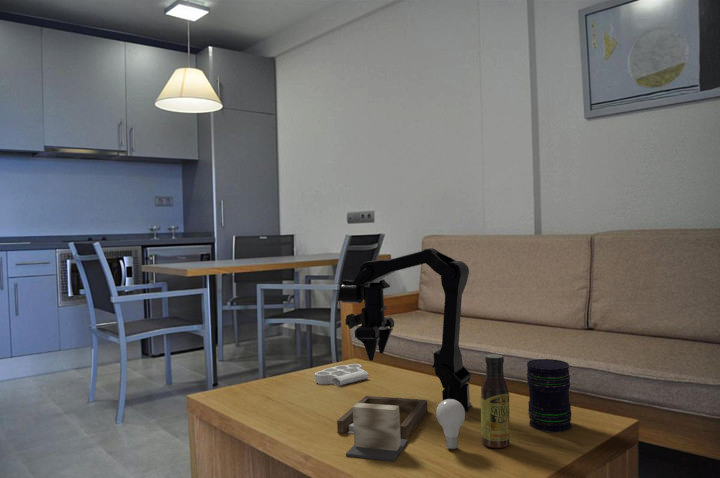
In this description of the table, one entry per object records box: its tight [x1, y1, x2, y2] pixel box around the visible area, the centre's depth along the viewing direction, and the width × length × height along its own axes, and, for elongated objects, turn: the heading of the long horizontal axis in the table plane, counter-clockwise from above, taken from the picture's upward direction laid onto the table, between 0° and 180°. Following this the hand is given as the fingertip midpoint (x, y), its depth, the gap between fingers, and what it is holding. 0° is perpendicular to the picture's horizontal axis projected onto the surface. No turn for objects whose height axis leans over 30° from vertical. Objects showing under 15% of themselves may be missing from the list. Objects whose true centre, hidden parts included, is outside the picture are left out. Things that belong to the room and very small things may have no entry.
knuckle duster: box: [314, 363, 370, 387], centre depth 185 cm, size 3×18×15 cm
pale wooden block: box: [352, 402, 401, 451], centre depth 125 cm, size 10×3×9 cm, turn 70°
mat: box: [345, 438, 409, 462], centre depth 125 cm, size 11×11×1 cm
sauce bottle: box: [480, 353, 511, 449], centre depth 124 cm, size 7×6×20 cm
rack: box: [336, 395, 428, 439], centre depth 142 cm, size 18×20×3 cm
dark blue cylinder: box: [526, 358, 572, 433], centre depth 135 cm, size 10×10×15 cm
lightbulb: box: [435, 399, 466, 450], centre depth 123 cm, size 6×6×11 cm
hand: (376, 356), depth 163 cm, fingers open, 9 cm apart
